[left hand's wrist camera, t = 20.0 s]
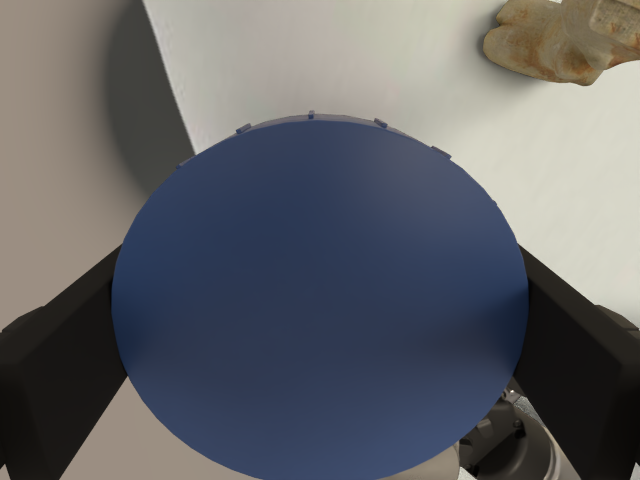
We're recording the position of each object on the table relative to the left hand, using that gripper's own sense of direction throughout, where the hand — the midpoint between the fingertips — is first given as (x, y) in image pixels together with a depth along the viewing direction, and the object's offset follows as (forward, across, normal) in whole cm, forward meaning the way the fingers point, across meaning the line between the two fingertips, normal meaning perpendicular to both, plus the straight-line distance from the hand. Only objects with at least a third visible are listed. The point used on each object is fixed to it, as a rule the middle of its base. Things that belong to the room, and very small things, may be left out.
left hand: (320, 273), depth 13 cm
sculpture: (+25, +16, +9) cm, 31 cm away
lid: (-3, 0, 0) cm, 3 cm away
